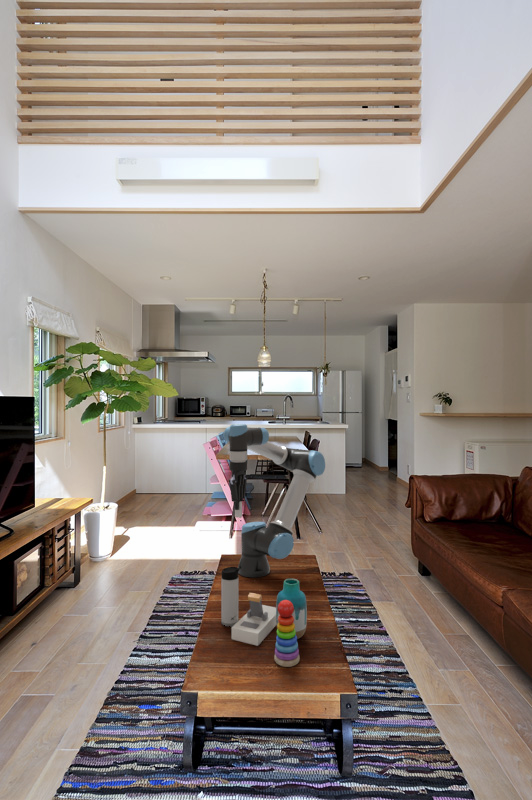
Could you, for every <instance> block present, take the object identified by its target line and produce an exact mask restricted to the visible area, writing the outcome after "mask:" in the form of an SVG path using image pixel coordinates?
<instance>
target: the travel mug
mask: <svg viewBox="0 0 532 800" xmlns="http://www.w3.org/2000/svg"><path fill="white" fill-rule="evenodd" d="M238 571H239V568H238V566H229V567H225V568H223V569H222V570H221V576H220V577H221V578H220V579H221V580H220V581H221V584H220V585H221V594H220V595H221V597H220V598H221V601H220V602H221V603H220V604H221V607H220V608H221V611H220V612H221V615H220V617H221V625H223V626H224V625H225V627H229V626H230V627H233V626H234V625H235V624H236V623H237V622H238V621H239V578H240V577H239V573H238Z"/></svg>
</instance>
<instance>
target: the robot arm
mask: <svg viewBox="0 0 532 800" xmlns="http://www.w3.org/2000/svg"><path fill="white" fill-rule="evenodd" d="M223 439H224V440H225V442H226V443H228V444H229V445H228V446H229V453H228V455H229V460H230V461H229V463H228V464H229V471H231V478H230V479H228V483H229V484H228V485H229V489H230V497H231V501H232V503H233V502H234V517H235V518H238V519H241V518H243V502H245V498H246V489H247V480H248V475H246V472H245V471H247V470H248V461H247V460H248V450H249V451H252V452H254V453H255V454H258V455H260V456H262V457H265V458H267V459H270V460H271V461H272V462H273V463H274V464H275V465H277V466H279V467H282V468H284V469H286V470H287V471H290V472H292V474H293V477H292V480H291V481H290V484H289V486H288V489H287V490H286V493H285V496H284V498H283V500H282V502H281V504H280V508H279V509H278V511H277V514H276V516H275V519H274V520H272V521H271V522H269V524H268V526H267V523H266V522H265V521H252V522H251V521H250V522H246V523H244V524H243V525H242V527H241V532H240V533H241V535H240V536H241V556H240V559H239V563H238V565H237V568H239V571H238V575H239V576H242V577H246V578H263V577H265V576H267V575H269V574H270V571H271V568H270V563H269V561H268V557H271V558H273V559H277V560H278V559H279V560H282V559H285V558H287V557H288V556H289V555H290V554H291V552H292V551H293V548H294V545H295V543H294V542H295V539H294V536H293V534H294V532H293V526H294V523H295V521H296V519H297V516H298V513H299V511H300V509H301V506H302V504H303V502H304V499H305V496H306V494H307V492H308V489H309V487H310V484H311V483H313V482H315V481H316V478H317V477H319V476H321V475H323V474H324V472H325V469H326V461H325V456H324V454H323V453H322V452H320V451H317V450H313V449H312V450H309V449H301V448H300V449H299V448H292V447H291V448H290V447H286V446H283V445H280V446H279V445H278V444H275V443H273V442H270V441H269V439H270V434H269V431H268V429H266V428H265V427H248V425H247V424H245V423H244V424H243V423H241V424H239V423H236V424H235V423H234V424H231V425H230V426H228V427H226V428H225V429H224V431H223ZM267 556H268V557H267Z"/></svg>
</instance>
